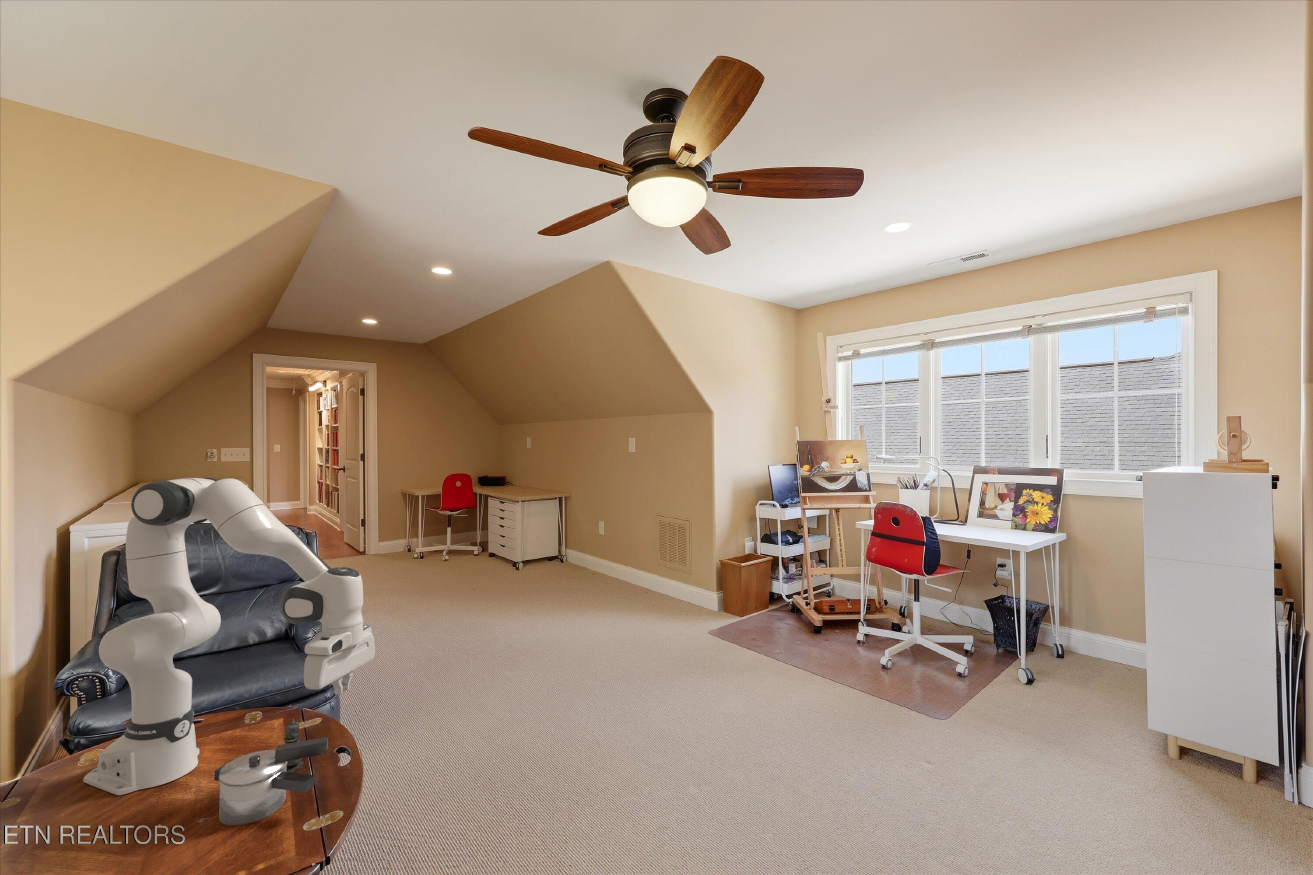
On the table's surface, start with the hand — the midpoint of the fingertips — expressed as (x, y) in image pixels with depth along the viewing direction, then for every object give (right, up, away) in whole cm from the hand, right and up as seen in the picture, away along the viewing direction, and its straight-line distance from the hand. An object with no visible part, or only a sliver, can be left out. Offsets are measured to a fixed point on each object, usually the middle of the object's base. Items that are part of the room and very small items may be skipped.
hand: (341, 692), depth 138 cm
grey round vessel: (-14, -20, +3) cm, 25 cm away
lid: (-9, -12, -11) cm, 18 cm away
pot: (-10, -20, -13) cm, 26 cm away
